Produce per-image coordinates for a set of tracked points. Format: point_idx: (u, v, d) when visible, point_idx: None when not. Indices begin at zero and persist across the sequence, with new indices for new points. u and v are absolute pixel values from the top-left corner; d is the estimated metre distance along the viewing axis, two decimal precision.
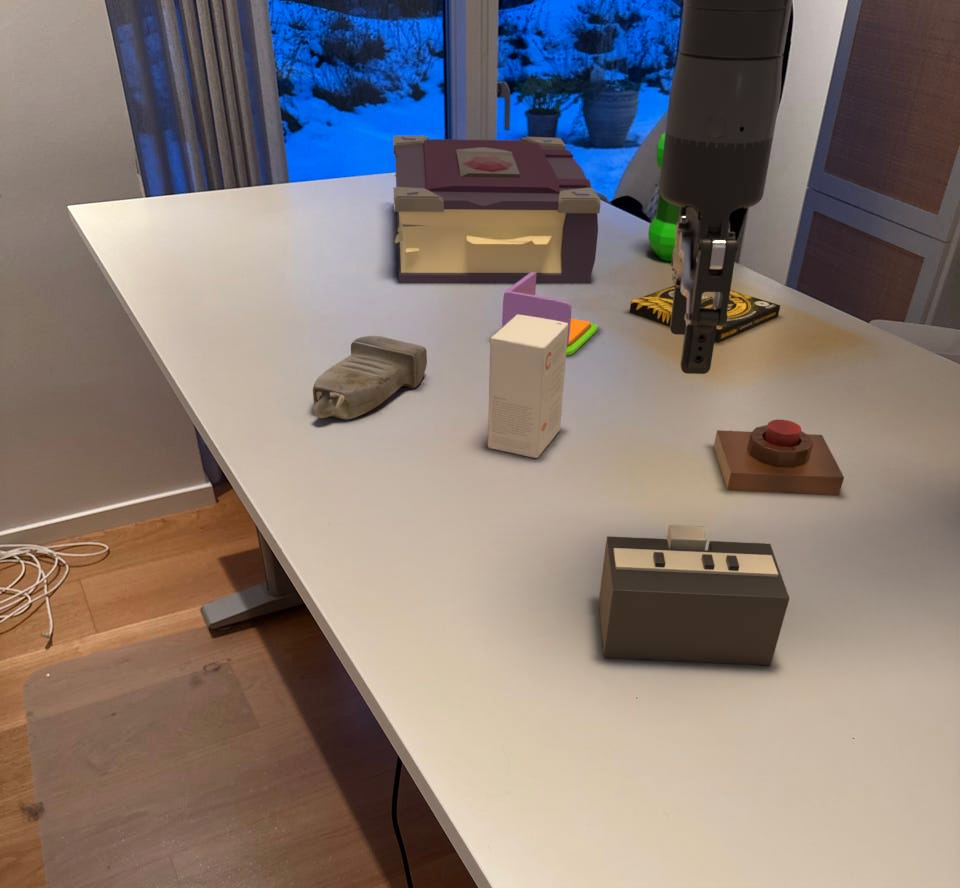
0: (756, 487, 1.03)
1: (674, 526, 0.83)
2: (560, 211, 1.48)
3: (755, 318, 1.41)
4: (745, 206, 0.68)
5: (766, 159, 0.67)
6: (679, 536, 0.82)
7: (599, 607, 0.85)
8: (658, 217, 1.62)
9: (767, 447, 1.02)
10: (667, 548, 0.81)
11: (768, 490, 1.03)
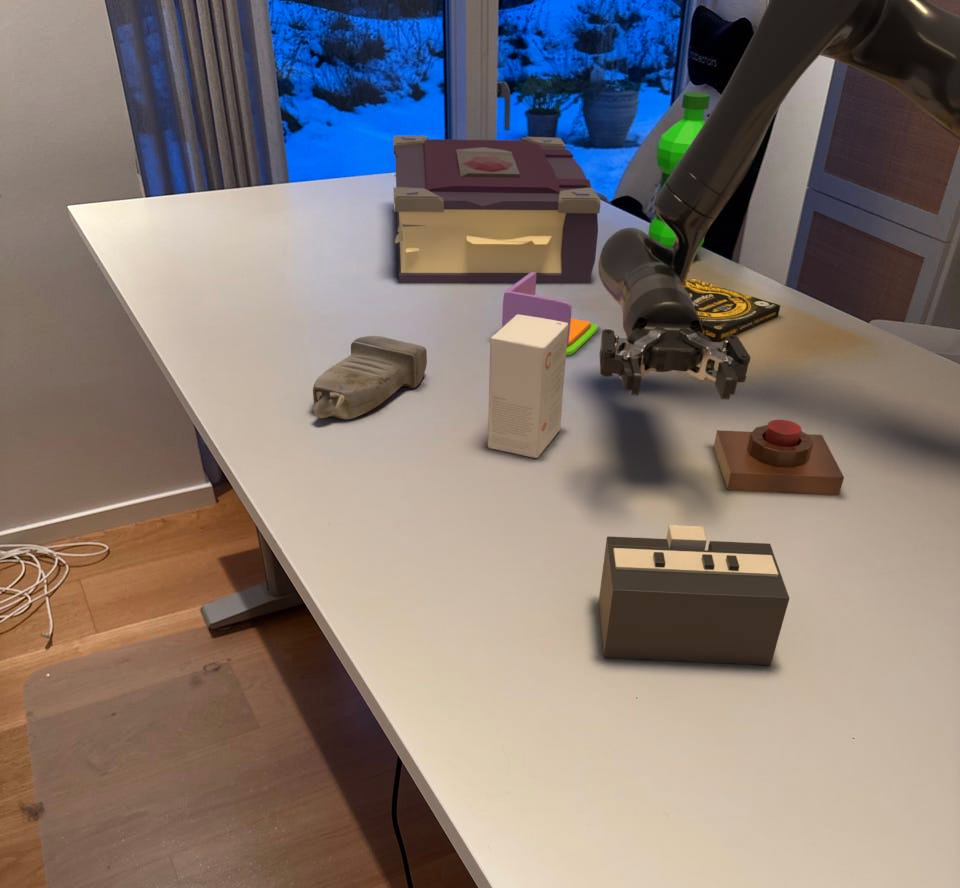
0: (756, 487, 1.03)
1: (674, 526, 0.83)
2: (560, 211, 1.48)
3: (755, 318, 1.40)
4: (640, 316, 0.97)
5: (649, 296, 0.98)
6: (679, 536, 0.82)
7: (599, 607, 0.85)
8: (658, 217, 1.62)
9: (767, 447, 1.02)
10: (667, 548, 0.81)
11: (768, 490, 1.03)
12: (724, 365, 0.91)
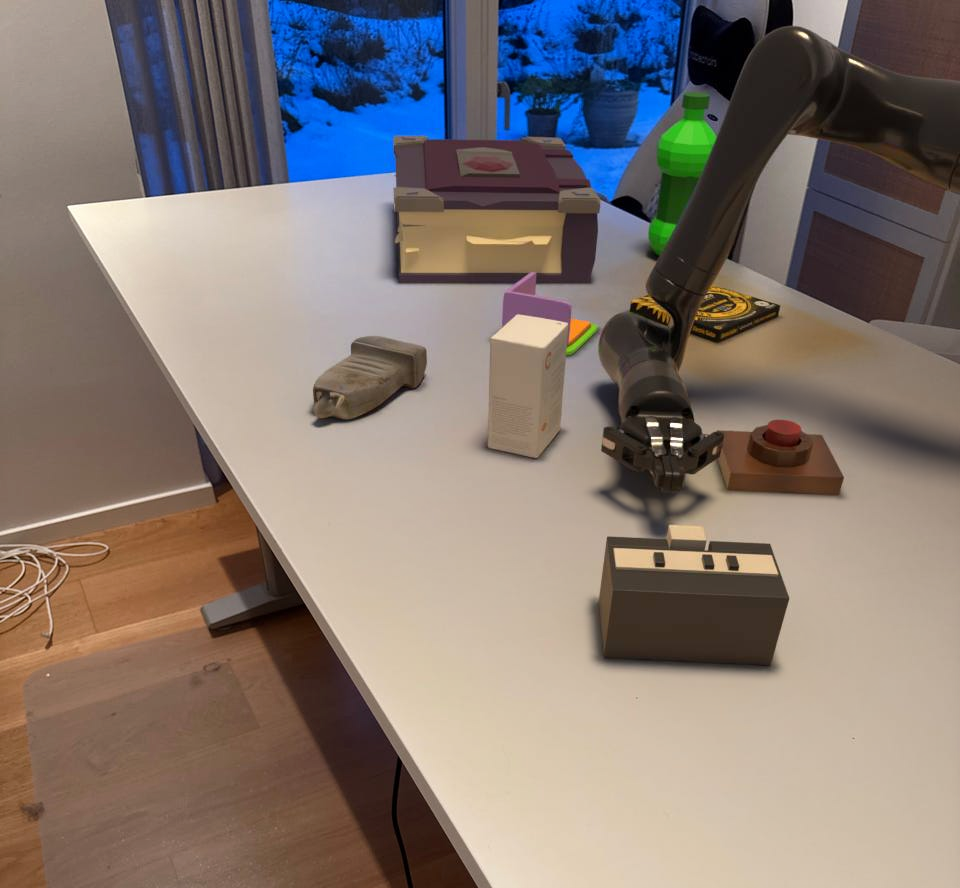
0: (756, 487, 1.03)
1: (674, 526, 0.83)
2: (560, 211, 1.48)
3: (755, 318, 1.40)
4: (633, 404, 1.00)
5: (642, 383, 1.02)
6: (679, 536, 0.82)
7: (599, 607, 0.85)
8: (658, 217, 1.62)
9: (767, 447, 1.02)
10: (667, 548, 0.81)
11: (768, 490, 1.03)
12: (673, 459, 0.93)
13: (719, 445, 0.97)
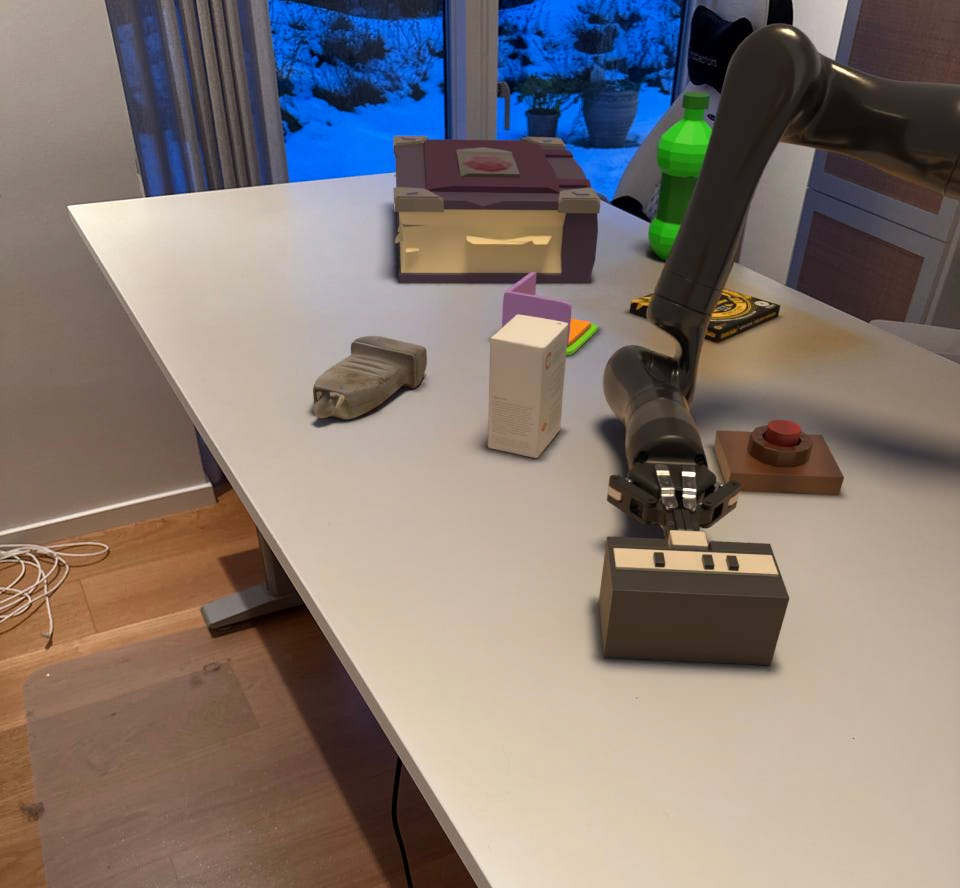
0: (756, 487, 1.03)
1: (675, 531, 0.82)
2: (560, 211, 1.48)
3: (755, 318, 1.40)
4: (641, 450, 0.92)
5: (651, 426, 0.94)
6: (681, 541, 0.81)
7: (599, 607, 0.85)
8: (658, 217, 1.62)
9: (767, 447, 1.02)
10: (667, 548, 0.81)
11: (768, 490, 1.03)
12: (686, 513, 0.85)
13: (735, 496, 0.89)
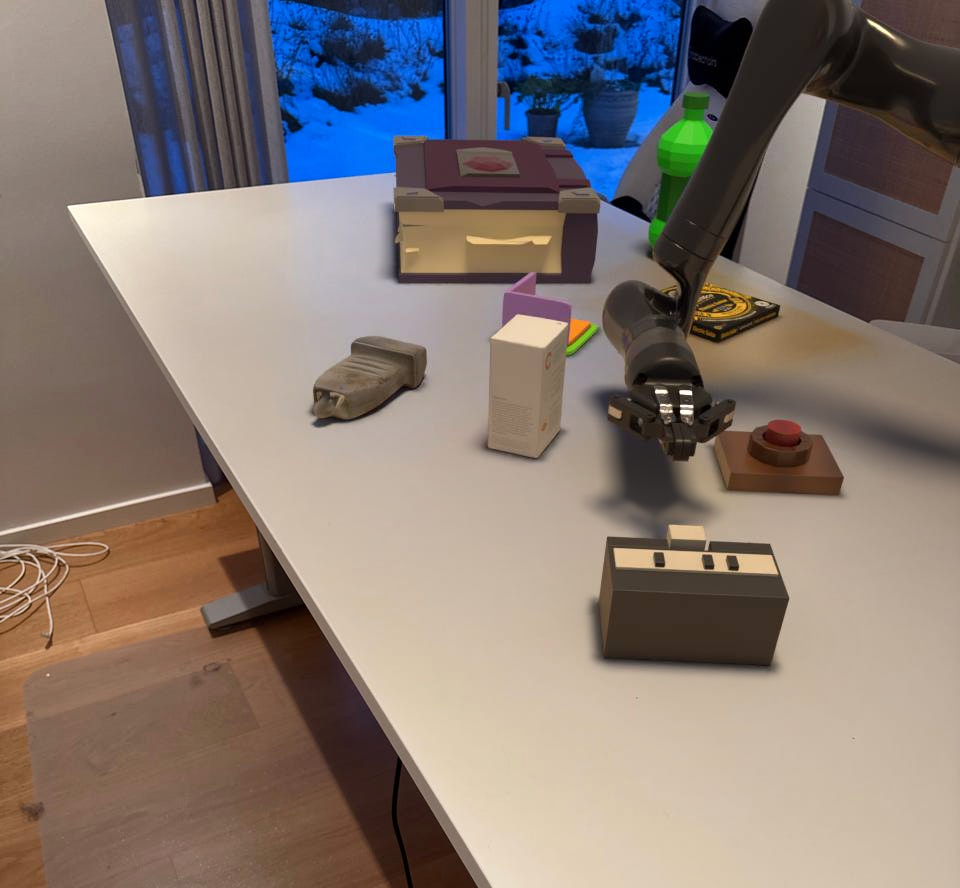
0: (756, 487, 1.03)
1: (674, 526, 0.83)
2: (560, 211, 1.48)
3: (755, 318, 1.40)
4: (640, 372, 0.96)
5: (649, 350, 0.97)
6: (679, 536, 0.82)
7: (599, 607, 0.85)
8: (658, 217, 1.62)
9: (767, 447, 1.02)
10: (667, 548, 0.81)
11: (768, 490, 1.03)
12: (684, 426, 0.89)
13: (731, 413, 0.93)
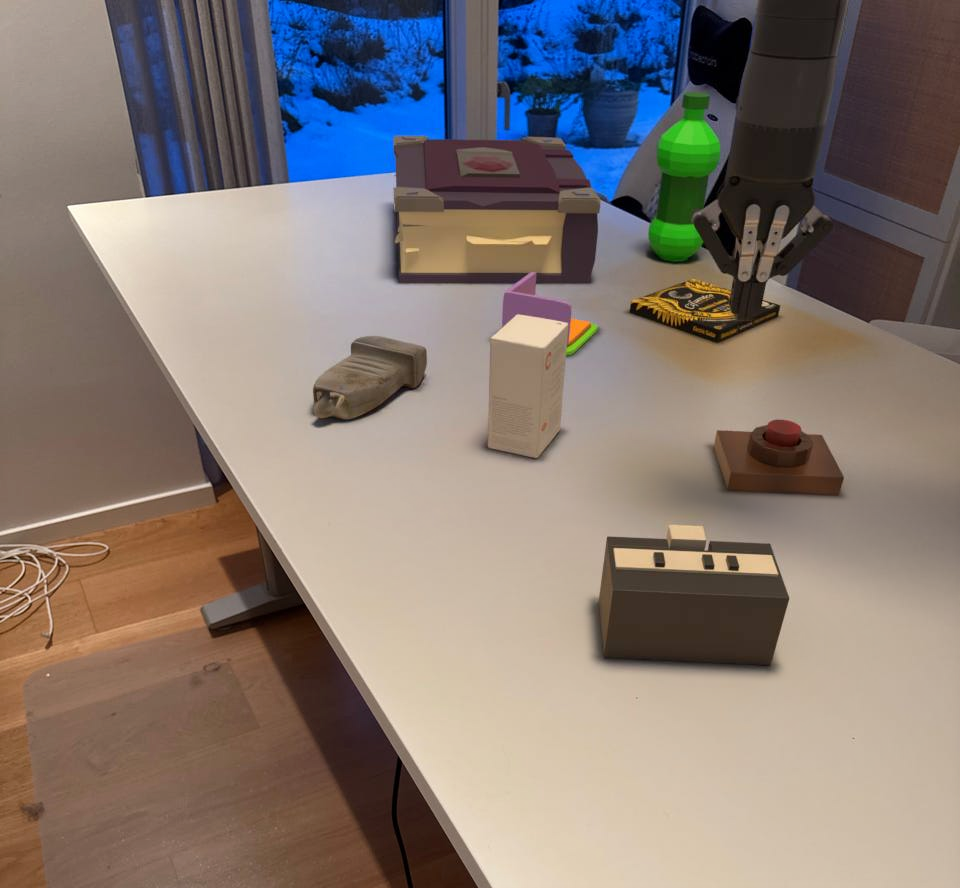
0: (756, 487, 1.03)
1: (674, 526, 0.83)
2: (560, 211, 1.48)
3: (755, 318, 1.40)
4: (740, 177, 0.82)
5: (761, 143, 0.79)
6: (679, 536, 0.82)
7: (599, 607, 0.85)
8: (658, 217, 1.62)
9: (767, 447, 1.02)
10: (667, 548, 0.81)
11: (768, 490, 1.03)
12: (754, 290, 0.89)
13: None
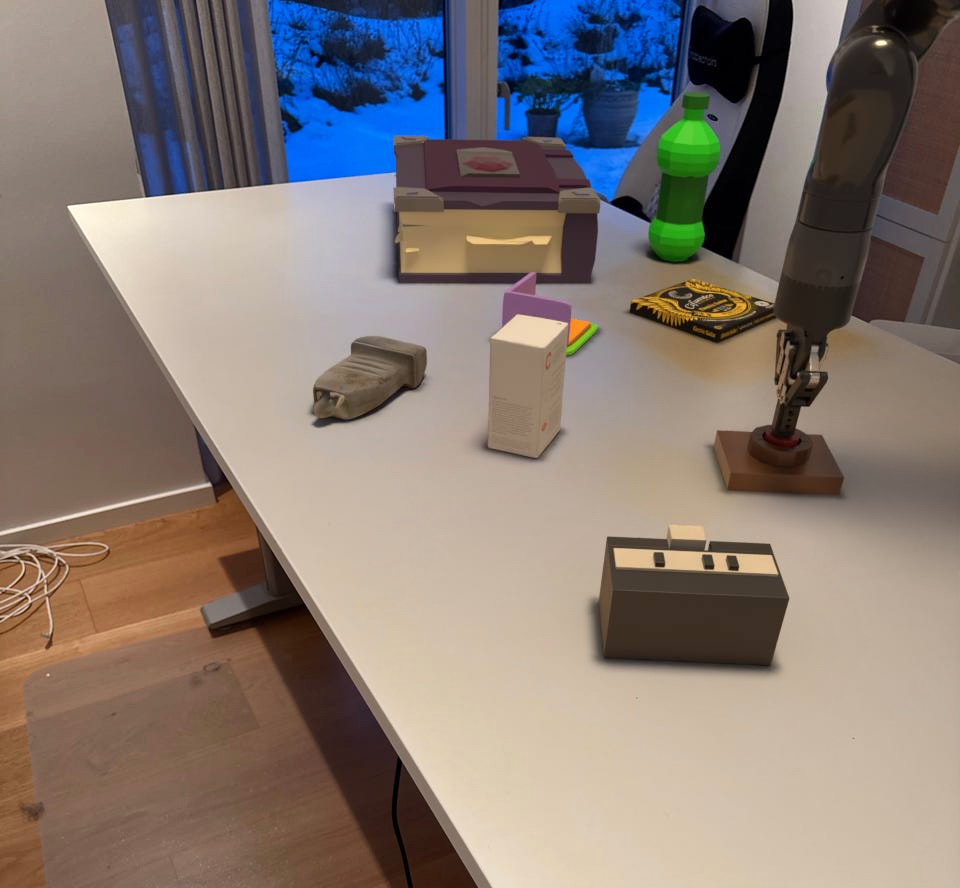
0: (756, 487, 1.03)
1: (674, 526, 0.83)
2: (560, 211, 1.48)
3: (755, 318, 1.40)
4: (839, 327, 0.94)
5: (856, 295, 0.93)
6: (679, 536, 0.82)
7: (599, 607, 0.85)
8: (658, 217, 1.62)
9: (767, 447, 1.02)
10: (667, 548, 0.81)
11: (768, 490, 1.03)
12: None
13: None
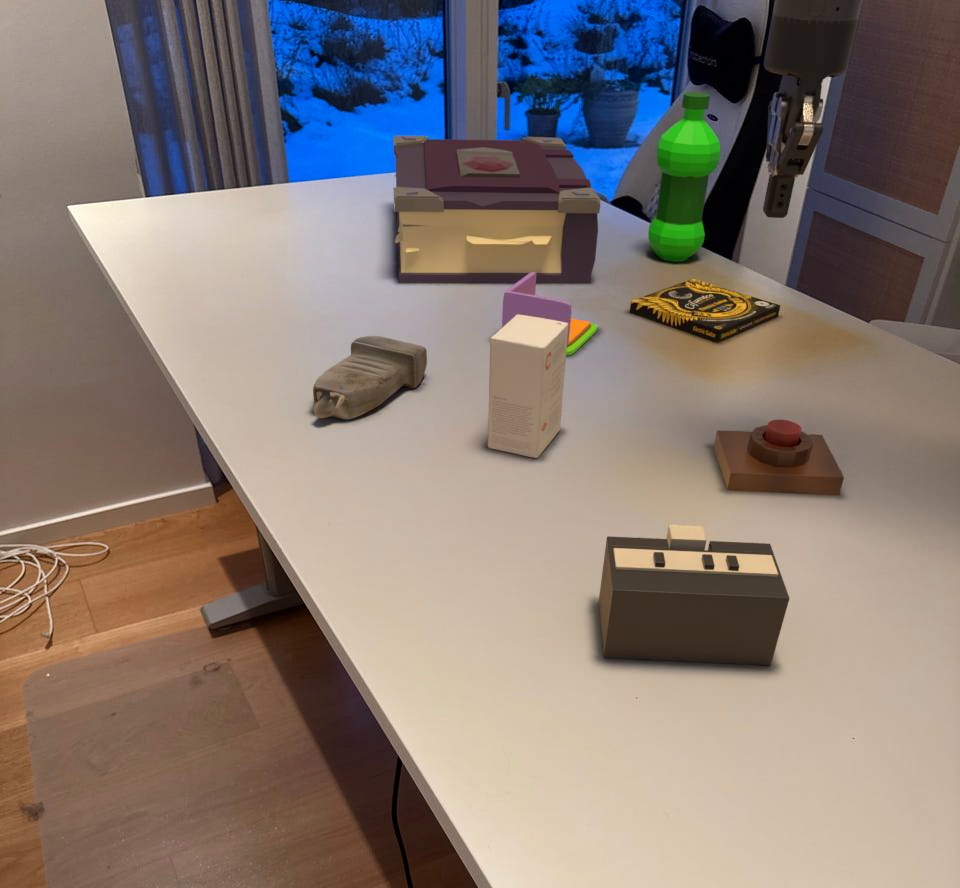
0: (756, 487, 1.03)
1: (674, 526, 0.83)
2: (560, 211, 1.48)
3: (755, 318, 1.40)
4: (834, 74, 0.86)
5: (852, 36, 0.85)
6: (679, 536, 0.82)
7: (599, 607, 0.85)
8: (658, 217, 1.62)
9: (767, 447, 1.02)
10: (667, 548, 0.81)
11: (768, 490, 1.03)
12: None
13: None
